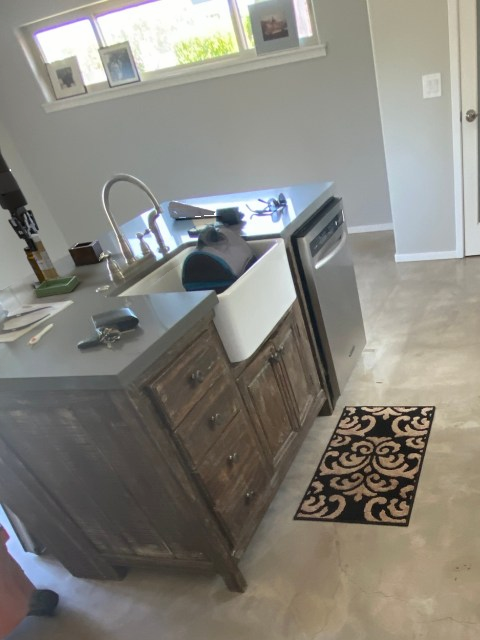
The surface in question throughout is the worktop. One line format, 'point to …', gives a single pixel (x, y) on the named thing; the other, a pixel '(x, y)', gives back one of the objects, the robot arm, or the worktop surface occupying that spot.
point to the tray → (56, 286)
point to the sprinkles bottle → (44, 259)
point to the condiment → (35, 267)
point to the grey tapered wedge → (187, 211)
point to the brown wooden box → (86, 252)
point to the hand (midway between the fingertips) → (37, 248)
